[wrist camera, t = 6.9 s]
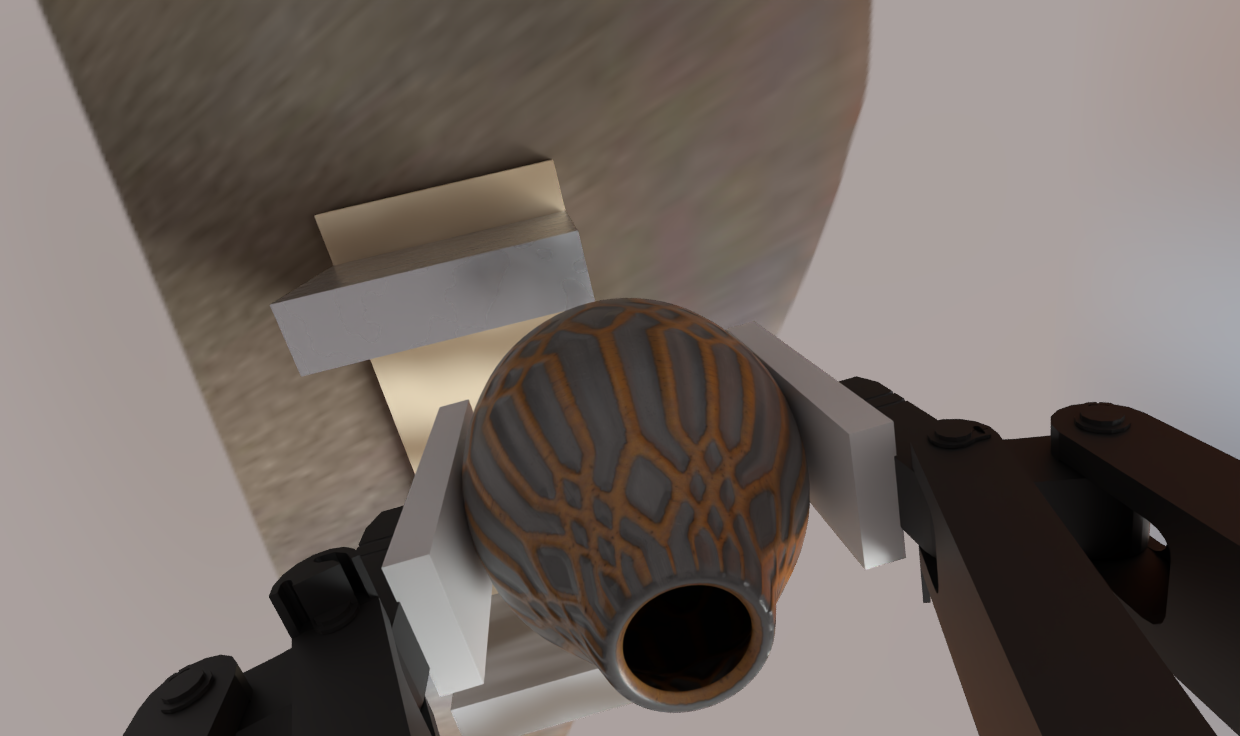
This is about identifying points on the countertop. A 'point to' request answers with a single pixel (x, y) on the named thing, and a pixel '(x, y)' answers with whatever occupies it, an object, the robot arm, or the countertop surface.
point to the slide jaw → (434, 293)
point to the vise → (456, 371)
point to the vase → (640, 497)
